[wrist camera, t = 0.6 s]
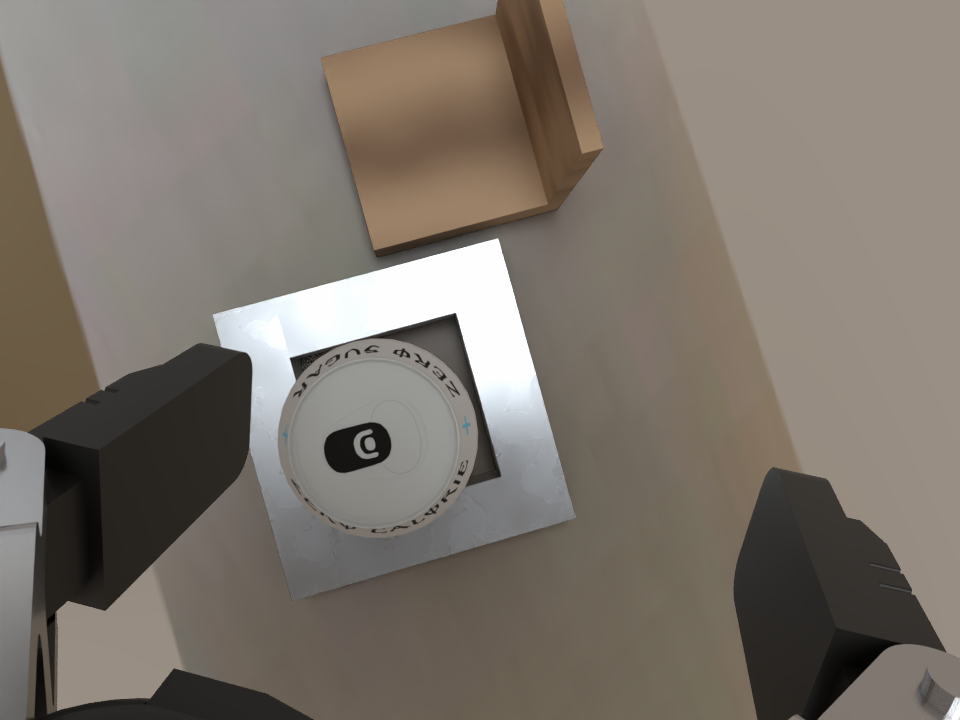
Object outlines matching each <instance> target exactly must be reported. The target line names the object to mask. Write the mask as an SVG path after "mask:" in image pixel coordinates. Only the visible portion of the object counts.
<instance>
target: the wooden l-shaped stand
mask: <svg viewBox="0 0 960 720" xmlns="http://www.w3.org/2000/svg"><path fill="white" fill-rule="evenodd" d="M321 61H322V65H323V68H324V72H325V75H326V79H327V83H328V86H329V90H330V93H331V97H332V101H333V104H334V108H335V111H336V115H337V119H338V122H339V126H340V130H341V133H342V137H343V140H344V144H345V148H346V151H347V155H348V158H349V162H350V166H351V169H352V173H353V176H354V180H355V184H356V187H357V191H358V195H359V198H360V202H361V205H362V209H363V213H364V216H365V220H366V223H367V227H368V231H369V234H370V238H371V241H372V245H373V249H374V251H375V254H376V256H377V257H380V256H384V255H388V254H391V253H395V252H399V251H403V250H406V249H410V248H414V247H418V246H421V245H425V244H429V243H433V242H436V241H440V240H444V239H448V238H451V237H455V236H459V235H463V234H466V233H470V232H474V231H478V230H482V229H485V228H489V227H493V226H497V225H500V224H504V223H508V222H512V221H515V220H519V219H523V218H527V217H530V216H534V215H538V214H542V213H545V212H549V211H553V210H557V209H558V208H559V207H560V206H561V204H562V203H563V202H564V200H565V199H566V198H567V196H568V195H569V194H570V192H571V191H572V190H573V188H574V187H575V186H576V184H577V183H578V182H579V180H580V179H581V178H582V176H583V175H584V174H585V172H586V171H587V170H588V168H589V167H590V166H591V164H592V163H593V162H594V160H595V159H596V158H597V156H598V155H599V154H600V152H601V151H602V150H603V148H604V147H603V144H602V140H601V137H600V133H599V129H598V126H597V122H596V119H595V115H594V111H593V108H592V104H591V101H590V97H589V93H588V90H587V86H586V83H585V79H584V75H583V72H582V68H581V65H580V61H579V57H578V54H577V50H576V47H575V43H574V39H573V36H572V32H571V29H570V25H569V21H568V18H567V14H566V11H565V7H564V3H563V0H498V3H497V9H496V15H492V16H488V17H484V18H480V19H476V20H472V21H468V22H464V23H460V24H456V25H452V26H448V27H444V28H439V29H435V30H431V31H427V32H423V33H419V34H415V35H411V36H407V37H403V38H399V39H395V40H391V41H387V42H383V43H379V44H375V45H371V46H367V47H363V48H359V49H355V50H351V51H347V52H343V53H339V54H335V55H330V56H326V57H322V58H321Z"/></svg>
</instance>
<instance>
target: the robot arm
mask: <svg viewBox="0 0 960 720" xmlns="http://www.w3.org/2000/svg"><path fill="white" fill-rule="evenodd" d="M252 375H253V367H252V361H251V358H250V356H249V355H248V354H247V353H246V352H241V351H237V350H232V349H227V348H223V347H218V346H213V345H209V344H204V343H199V344H196V345H195V346H193V347H191V348H190V349H188V350H186V351H185V352H183V353H181V354H180V355H178V356H176V357H175V358H173V359H171V360H170V361H168V362H166V363H165V364H163V365H159V366H155V367H152V368H148V369H144V370H141V371H137V372H134V373H130V374H128V375H126V376H124V377H123V378H121V379H119V380H117V381H116V382H114V383H112V384H110V385H109V386H107V387H106V388H105V391H103V390H100V391H98V392H97V393H95V394H93V395H91V396H90V397H88V398H86V401H85V402H79V403H78V404H76V405H74V406H73V407H71V408H69V409H67V410H65V411H64V412H62V413H61V414H59V415H57V416H55V417H53V418H52V419H50V420H48V421H46V422H45V423H43V424H41V425H40V426H38V427H36V428H34V429H33V430H31V431H29V432H27V433H26V432H23V431H18V430H12V429H2V428H0V720H313V719H311V718H310V717H308V716H306V715H304V714H302V713H301V712H299V711H297V710H295V709H293V708H292V707H290V706H288V705H286V704H284V703H283V702H281V701H279V700H277V699H275V698H274V697H272V696H270V695H268V694H266V693H262V692H258V691H255V690H251V689H247V688H244V687H240V686H236V685H233V684H229V683H225V682H222V681H218V680H214V679H211V678H207V677H203V676H200V675H196V674H192V673H189V672H185V671H181V670H177V669H173V670H172V672H171V673H170V674H169V676H168V677H167V678H166V679H165V681H164V682H163V683H162V685H161V686H160V687H159V688H158V690H157V691H156V692H155V694H154V695H153V696H152V697H151V699H147V698H135V699H118V700H108V701H101V702H95V703H88V704H84V705H80V706H76V707H71V708H66V709H62V710H59V711H57V657H58V655H57V654H58V627H57V613H56V611H57V610H58V609H59V608H60V607H62V606H63V605H64V604H65V603H66V602H67V601H71V602H74V603H78V604H82V605H86V606H89V607H93V608H97V609H101V610H104V611H105V610H107V609H108V608H109V607H110V605H112V604H113V603H114V602H115V600H116V599H117V598H119V597H120V595H121V594H122V593H124V592H125V591H126V590H127V588H129V586H131V584H133V582H135V580H136V579H137V578H138V577H139V576H140V575H141V574H142V573H143V572H144V571H145V570H146V569H147V568H148V567H149V566H150V565H151V564H152V563H153V562H154V561H155V560H156V559H157V558H158V557H159V556H160V555H161V554H162V553H163V552H164V551H165V550H166V549H167V548H168V547H169V546H170V545H171V544H172V543H173V542H174V541H175V540H176V539H177V538H178V537H179V536H180V535H181V534H182V533H183V532H184V531H185V530H186V529H187V528H188V527H189V526H190V525H191V524H192V523H193V522H194V521H195V520H196V519H197V518H198V517H199V516H200V515H201V514H202V513H203V512H204V511H205V510H206V509H207V508H208V507H209V506H210V505H211V504H212V503H213V502H214V501H215V500H216V499H217V498H218V497H219V496H220V495H221V494H222V493H223V492H224V491H225V490H226V489H227V488H228V487H229V486H230V485H231V484H232V483H233V482H234V481H235V480H236V479H237V477H238V476H239V474H240V473H241V471H242V469H243V467H244V464H245V461H246V458H247V455H248V450H249V444H250V423H251V399H252ZM900 570H901V569H900V567H899V565H898V563H897V562H896V560H895V558H894V556H893V554H892V552H891V551H890V549H889V547H888V545H887V544H886V543H884V542H883V540H881V539H880V538H879V537H878V536H877V535H876V534H875V533H874V532H872V531H871V530H870V529H869V528H868V527H867V526H866V525H865V524H864V523H863V522H861V521H860V520H856V519H852V518H847V517H846V515H845V513H844V511H843V509H842V507H841V505H840V503H839V501H838V499H837V497H836V495H835V493H834V491H833V489H832V487H831V485H830V483H829V481H828V480H827V479H825V478H820V477H816V476H811V475H806V474H802V473H797V472H792V471H788V470H783V469H779V468H774V467H773V468H771V469H770V470H769V471H768V473H767V475H766V476H765V479H764V481H763V484H762V487H761V490H760V493H759V496H758V499H757V502H756V505H755V508H754V511H753V514H752V517H751V520H750V523H749V526H748V529H747V533H746V536H745V539H744V542H743V545H742V548H741V551H740V554H739V557H738V561H737V565H736V570H735V577H734V602H735V607H736V613H737V618H738V623H739V628H740V633H741V638H742V643H743V648H744V653H745V658H746V663H747V668H748V674H749V679H750V684H751V689H752V694H753V699H754V704H755V709H756V714H757V719H758V720H960V658H958V657H956V656H953V655H951V654H949V653H947V652H946V651H945V649H944V647H943V645H942V643H941V641H940V639H939V638H938V636H937V634H936V632H935V630H934V629H933V627H932V625H931V623H930V621H929V620H928V618H927V616H926V614H925V612H924V611H923V609H922V607H921V605H920V603H919V601H918V600H917V598H916V596H915V595H912V594H911V593H912V589H911V587H910V585H909V583H908V581H907V580H906V578H905V576H904V574H900Z"/></svg>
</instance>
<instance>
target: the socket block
mask: <svg viewBox="0 0 960 720" xmlns="http://www.w3.org/2000/svg"><path fill="white" fill-rule="evenodd" d="M213 317H214V321H215V325H216V328H217V332H218V335H219V339H220V343H221V346H222V347H223V348H227V349H232V350H237V351H241V352H246V353H247V354H248V355H249V356H250V358H251V361H252V367H253V375H252V399H251V423H250V444H249V447H250V451H251V455H252V458H253V462H254V466H255V469H256V473H257V476H258V480H259V484H260V487H261V491H262V494H263V498H264V502H265V505H266V509H267V513H268V516H269V520H270V523H271V527H272V531H273V534H274V538H275V542H276V545H277V549H278V552H279V556H280V560H281V563H282V567H283V570H284V574H285V578H286V581H287V585H288V589H289V592H290V596H291V599H292V601H295V600H298V599H301V598H305V597H308V596H312V595H315V594H319V593H322V592H325V591H329V590H332V589H336V588H339V587H342V586H346V585H349V584H353V583H356V582H359V581H363V580H366V579H370V578H373V577H377V576H380V575H383V574H387V573H390V572H394V571H397V570H400V569H404V568H407V567H411V566H414V565H417V564H421V563H424V562H428V561H431V560H435V559H438V558H441V557H445V556H448V555H452V554H455V553H458V552H462V551H465V550H469V549H472V548H475V547H479V546H482V545H486V544H489V543H493V542H496V541H499V540H503V539H506V538H510V537H513V536H516V535H520V534H523V533H527V532H530V531H534V530H537V529H540V528H544V527H547V526H551V525H554V524H557V523H561V522H564V521H568V520H571V519H574V518H576V517H575V514H574V510H573V507H572V503H571V499H570V496H569V492H568V489H567V485H566V481H565V478H564V474H563V471H562V467H561V463H560V460H559V456H558V452H557V449H556V445H555V442H554V438H553V434H552V431H551V427H550V424H549V420H548V416H547V413H546V409H545V406H544V402H543V398H542V395H541V391H540V388H539V384H538V380H537V377H536V373H535V370H534V366H533V362H532V359H531V355H530V352H529V348H528V344H527V341H526V337H525V334H524V330H523V326H522V323H521V319H520V315H519V312H518V308H517V305H516V301H515V297H514V294H513V290H512V287H511V283H510V279H509V276H508V272H507V269H506V265H505V261H504V258H503V254H502V251H501V247H500V243H499V240H498V239H494V240H491V241H487V242H483V243H479V244H476V245H472V246H468V247H464V248H461V249H457V250H453V251H449V252H446V253H442V254H438V255H435V256H431V257H427V258H423V259H420V260H416V261H412V262H408V263H405V264H401V265H397V266H393V267H390V268H386V269H382V270H378V271H375V272H371V273H367V274H363V275H360V276H356V277H352V278H348V279H345V280H341V281H337V282H333V283H330V284H326V285H322V286H318V287H315V288H311V289H307V290H303V291H300V292H296V293H292V294H288V295H285V296H281V297H277V298H273V299H270V300H266V301H262V302H259V303H255V304H251V305H247V306H244V307H240V308H236V309H232V310H229V311H225V312H221V313H217V314H214V315H213ZM451 317H455V320H456V323H457V327H458V330H459V334H460V338H461V341H462V345H463V348H464V352H465V356H466V359H467V363H468V366H469V370H470V374H471V377H472V381H473V385H474V388H475V392H476V395H477V399H478V403H479V406H480V410H481V413H482V417H483V421H484V424H485V428H486V431H487V435H488V439H489V442H490V446H491V449H492V453H493V457H494V460H495V464H496V468H497V470H494V471H491V472H487V473H484V474H480V475H477V476H473V477H470V478H469V480H468V482H467V484H466V486H465V488H464V489H463V491H462V492H461V494H460V495H459V496H458V498H457V499H456V501H455V502H454V503H453V504H452V505H451V506H450V507H449V508H448V509H447V510H446V511H445V512H444V513H443V514H442V515H441V516H440V517H438V518H437V519H435V520H433V521H432V522H430V523H429V524H427V525H426V526H424V527H422V528H420V529H417V530H414V531H412V532H409V533H407V534H404V535H398V536H393V537H387V538H366V537H361V536H356V535H352V534H347V533H345V532H342V531H340V530H338V529H335V528H333V527H331V526H328V525H327V524H325V523H324V522H323V521H321V520H320V519H318V518H317V517H315V516H314V515H313V514H311V512H310V511H309V510H308V509H307V508H306V507H305V506H304V505H303V504H302V503H301V502H300V501H299V500H298V498H297V497H296V495H295V494H294V492H293V490H292V489H291V487H290V486H289V484H288V482H287V479H286V477H285V474H284V472H283V469H282V466H281V462H280V456H279V450H278V425H279V421H280V417H281V412H282V408H283V405H284V403H285V401H286V399H287V396H288V394H289V392H290V390H291V388H292V387H293V385H294V384H295V382H296V381H297V380H298V378H299V377H300V375H301V374H302V373H303V369H302V366H301V362H300V359H301V358H305V357H308V356H312V355H316V354H319V353H323V352H327V351H330V350H332V349H334V348H337V347H339V346H342V345H345V344H347V343H350V342H353V341H359V340H365V339H371V338H378V337H382V336H385V335H389V334H393V333H396V332H400V331H404V330H407V329H411V328H415V327H418V326H422V325H426V324H429V323H433V322H437V321H440V320H444V319H448V318H451Z"/></svg>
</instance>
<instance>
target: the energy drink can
mask: <svg viewBox="0 0 960 720" xmlns="http://www.w3.org/2000/svg"><path fill="white" fill-rule="evenodd" d="M278 450H279V456H280V462H281V466H282V469H283V472H284V474H285V477H286V479H287V482H288V484H289V486H290V487H291V489H292V490H293V492H294V494H295V495H296V497H297V498H298V500H299V501H300V502H301V503H302V504H303V505H304V506H305V507H306V508H307V509H308V510H309V511H310V512H311V514H313V515H314V516H315V517H317V518H318V519H320V520H321V521H323V522H324V523H325V524H327V525H328V526H331V527H333V528H335V529H338V530H340V531H342V532H345V533H347V534H352V535H356V536H361V537H366V538H387V537H393V536H398V535H404V534H407V533H409V532H412V531H414V530H417V529H420V528H422V527H424V526H426V525H427V524H429V523H430V522H432V521H433V520H435V519H437V518H438V517H440V516H441V515H442V514H443V513H444V512H445V511H446V510H447V509H448V508H449V507H450V506H451V505H452V504H453V503H454V502H455V501H456V499H457V498H458V496H459V495H460V494H461V492H462V491H463V489H464V488H465V486H466V484H467V482H468V480H469V477H470V475H471V473H472V471H473V468H474V463H475V459H476V455H477V450H478V427H477V421H476V415H475V410H474V408H473V405H472V402H471V400H470V397H469V395H468V392H467V391H466V389H465V388H464V386H463V384H462V383H461V381H460V380H459V378H458V377H457V376H456V374H455V373H454V372H453V371H452V370H451V369H450V368H449V367H448V366H447V365H446V364H445V363H444V362H443V361H441V360H440V359H438V358H437V357H436V356H434V355H433V354H431V353H430V352H429V351H427V350H424V349H422V348H420V347H418V346H415V345H413V344H411V343H407V342H402V341H398V340H394V339H376V338H371V339H365V340H359V341H353V342H350V343H347V344H345V345H342V346H339V347H337V348H334V349H332V350H331V351H329V352H328V353H326V354H324V355H323V356H321V357H320V358H318V359H317V360H316V361H314V362H313V363H312V364H311V365H310V366H309V367H308V368H307V369H306V370H305V371H304V372H303V373H302V374H301V375H300V377H299V378H298V380H297V381H296V382H295V384H294V385H293V387H292V388H291V390H290V392H289V394H288V396H287V399H286V401H285V403H284V405H283V408H282V412H281V417H280V421H279V425H278Z"/></svg>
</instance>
